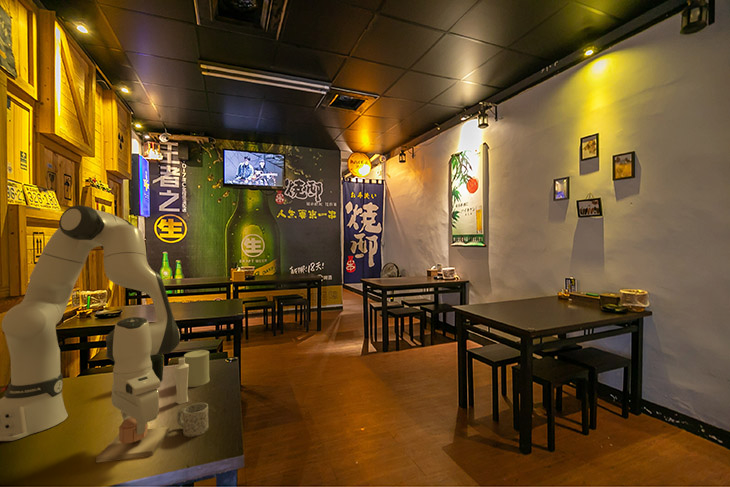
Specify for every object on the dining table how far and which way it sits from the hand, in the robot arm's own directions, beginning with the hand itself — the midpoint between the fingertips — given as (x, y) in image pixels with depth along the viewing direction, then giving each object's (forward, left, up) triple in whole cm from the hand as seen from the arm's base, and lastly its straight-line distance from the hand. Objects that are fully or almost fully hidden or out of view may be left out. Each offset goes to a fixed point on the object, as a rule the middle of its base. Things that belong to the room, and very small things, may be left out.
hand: (134, 429), depth 92 cm
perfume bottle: (+4, +26, -5) cm, 27 cm away
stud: (0, 0, -3) cm, 4 cm away
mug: (+13, +5, -5) cm, 15 cm away
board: (0, 0, -5) cm, 5 cm away
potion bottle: (-14, +48, -5) cm, 50 cm away
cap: (0, 0, -2) cm, 2 cm away
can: (+4, +43, -5) cm, 44 cm away
